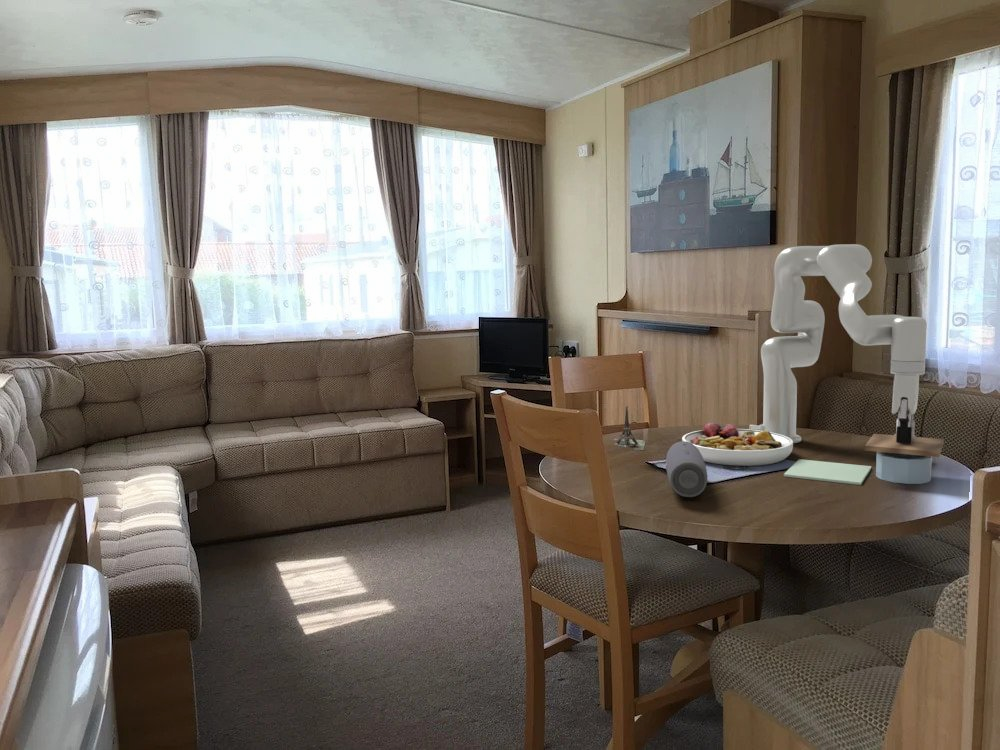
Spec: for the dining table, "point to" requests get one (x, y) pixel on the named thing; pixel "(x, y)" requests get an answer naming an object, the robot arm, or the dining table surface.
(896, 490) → the dining table surface
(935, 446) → the walnut lid
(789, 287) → the robot arm
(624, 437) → the eiffel tower figurine
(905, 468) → the slate bowl
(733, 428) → the bowl
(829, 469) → the green mat
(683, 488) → the bluetooth speaker
